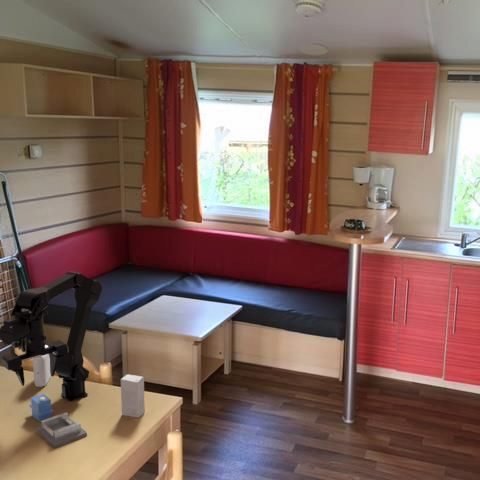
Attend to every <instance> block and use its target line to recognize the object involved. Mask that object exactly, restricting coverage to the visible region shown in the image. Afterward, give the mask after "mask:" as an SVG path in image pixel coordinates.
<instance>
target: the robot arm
mask: <svg viewBox="0 0 480 480" xmlns="http://www.w3.org/2000/svg"><path fill="white" fill-rule="evenodd" d="M71 289H73V291H74V293H73V297H74V300H75V303H76V304H75V309H74V314H73V317H72V322H71V325H70V329H69V333H68V338H67V341H66V343H65V342H64V341H62V340H60V339H58V340H54V341H51V342H49V343H48V344H47V346H48V347H47V348H45V345H46V342H45V340H46V341H47V336H46V335H45V328H44V317H45V316H47V315H49V311H47V310H46V309H47V307H48V306H49V305H50V302H51V301H52V300H53V299H55V298H57V297H59V296H60V295H62V294H64V293H65V292H68V291H69V290H71ZM102 290H103V287H102V285H101V282H100V281H98V280H95V279H92V278H89V277H87V276H86V275H84V274H82V273H81V272H77V271H71V270H70V271H67V272H65V274H63V275H61V276H60V277H58V278H56V279H54V280H52V281H50V282H48V283H47V284H45V285H43V286H39V287H35V288H29V289H25V290H22V291H21V292H20V293H19V294H18V297H17V299H16V301H15V304H14V306H13V308H12V311H11V314H10V316H11V317H12V318H9V319H6V320H3V324H2V326H0V340H1V341H2V343H3V344H5V345H8V346H9V345H11V348H12V349H17V348H18V350H19V351H21V352H22V353H23V354H19V355H18V353H16V352H11V353H8V354H5V355H2V357H1V359H0V361H1V365H2V366H3V367H4V368H5V369H6V370H8V371H12V372H13V373H15V375H16V376H17V378H18V381H19V383H20V385H21V386H23V387H24V386H25V371H24V366H22V365H23V362H26V361H29V360H33V358H36V357H39V356H43V355H46V354H49V357H50V374H51V376H50V377H54V375H55V373H56V374H57V376H58V378H59V379H62V384H61V393H60V394H61V396H62V397H63V398H64V399H66V400H67V401H69V402H72V401H75V400H78V399H82V398H84V397H87V396H88V395H89V394H88V393H87V392H86V385H85V384H86V380H87V379H88V378H89V375H90V371H89V370H88V369H86V368H85V367H84V362H85V361H84V358H83V357H84V356H83V353H82V349H83V348H82V347H83V343H84V340H85V336H86V333H87V328H88V325H89V320H90V316H91V312H92V308H93V307H94V306H95V305H96V303H98V302H99V299H100V297H101V294H102Z"/></svg>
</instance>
